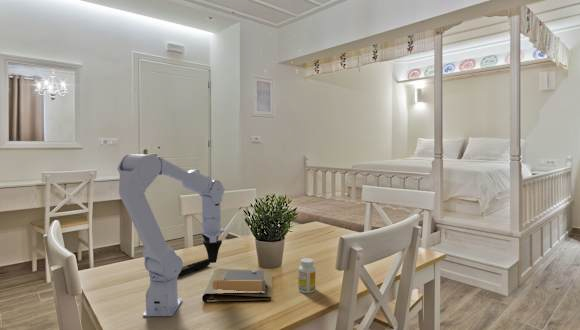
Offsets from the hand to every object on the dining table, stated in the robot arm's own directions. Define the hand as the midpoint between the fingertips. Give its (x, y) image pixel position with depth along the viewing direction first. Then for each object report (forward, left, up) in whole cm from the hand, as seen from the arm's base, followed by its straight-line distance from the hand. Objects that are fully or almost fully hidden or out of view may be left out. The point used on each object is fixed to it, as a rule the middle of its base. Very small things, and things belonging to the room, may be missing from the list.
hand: (211, 258), depth 110 cm
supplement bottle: (-3, -31, -9) cm, 32 cm away
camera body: (-1, -11, -9) cm, 14 cm away
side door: (-6, -9, -9) cm, 14 cm away
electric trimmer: (+13, +10, -10) cm, 19 cm away
